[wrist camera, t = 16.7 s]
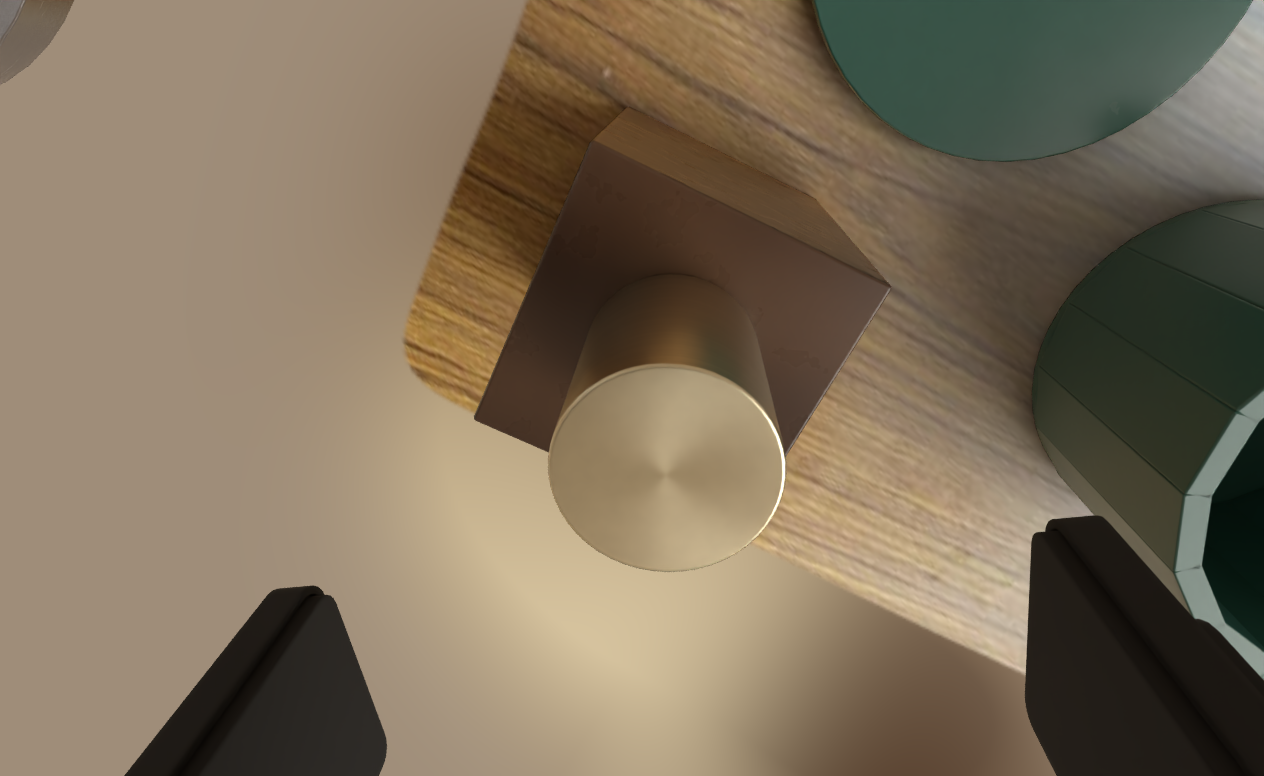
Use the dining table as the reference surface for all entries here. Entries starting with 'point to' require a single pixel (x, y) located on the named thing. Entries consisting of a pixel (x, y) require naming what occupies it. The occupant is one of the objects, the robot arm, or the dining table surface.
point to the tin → (668, 429)
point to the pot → (1171, 408)
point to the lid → (1019, 66)
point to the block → (684, 272)
